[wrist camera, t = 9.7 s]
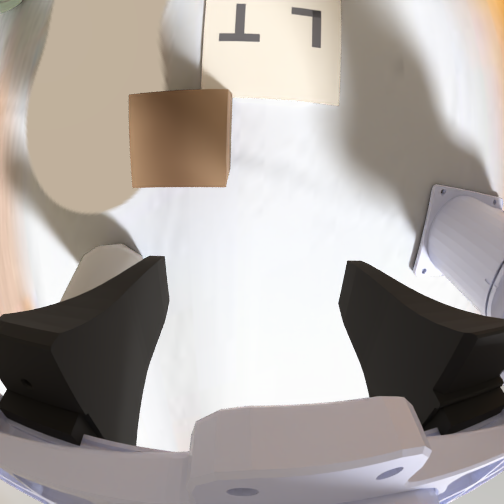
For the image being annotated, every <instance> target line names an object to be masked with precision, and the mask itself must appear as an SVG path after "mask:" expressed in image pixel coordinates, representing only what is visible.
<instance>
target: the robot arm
mask: <svg viewBox="0 0 504 504" xmlns="http://www.w3.org/2000/svg"><path fill="white" fill-rule="evenodd" d="M442 189H443V193H442V194H441V190H442ZM493 201H494V202H493ZM502 207H503V199H502V198H500V197H496V196H492V195H487V194H483V193H478V192H474V191H469V190H464V189H459V188H454V187H449V186H444V185H438V184H436V185H434V186H433V187H432V191H431V197H430V202H429V207H428V212H427V217H426V221H425V226H424V230H423V234H422V238H421V242H420V246H419V250H418V254H417V258H416V261H415V265H414V268H413V273H414V274H415V275H416V276H445V277H446V278H447V279H448V280H449V281H450V282H451V283H452V284H453V285H454V286H455V287H456V288H457V289H458V290H459V291H460V292H461V293H462V294H463V295H464V296H465V297H466V298H467V299H468V300H469V301H470V302H471V304H472V305H473V306H474V307H475V308H476V309H477V310H478V311H479V312H480V313H481V314H482V315H479V314H475V313H471V312H467V311H464V310H460V309H457V308H454V307H451V306H448V305H446V304H443V303H440V302H438V301H436V300H433V299H431V298H429V297H427V296H424V295H422V294H420V293H418V292H416V291H414V290H413V289H411V288H409V287H407V286H405V285H403V284H402V283H400V282H398V281H397V280H395V279H393V278H392V277H390V276H388V275H386V274H385V273H383V272H381V271H380V270H378V269H376V268H375V267H373V266H371V265H369V264H367V263H365V262H362V261H347V265H346V270H345V275H344V280H343V284H342V289H341V294H340V298H339V303H338V304H339V308H340V312H341V316H342V320H343V323H344V326H345V328H346V330H347V333H348V335H349V338H350V340H351V342H352V345H353V347H354V349H355V352H356V354H357V357H358V359H359V361H360V364H361V367H362V370H363V373H364V376H365V380H366V384H367V388H368V392H369V397H370V398H363V399H355V400H347V401H338V402H327V403H315V404H300V405H276V406H244V407H236V408H228V409H220V410H218V411H216V412H214V413H212V414H210V415H208V416H206V417H204V418H202V419H200V420H198V421H196V423H195V426H194V429H193V432H192V434H191V443H190V451H188V452H171V451H164V450H157V449H150V448H144V447H138V446H136V440H137V429H138V421H139V413H140V407H141V400H142V394H143V389H144V384H145V379H146V375H147V370H148V367H149V364H150V361H151V358H152V355H153V352H154V350H155V347H156V344H157V341H158V339H159V336H160V333H161V330H162V328H163V325H164V322H165V319H166V314H167V310H168V305H169V292H168V284H167V275H166V265H165V256H149V257H146V258H144V259H143V260H141V261H139V262H138V263H136V264H134V265H133V266H131V267H130V268H128V269H126V270H125V271H123V272H122V273H120V274H118V275H117V276H115V277H113V278H111V279H110V280H108V281H106V282H105V283H103V284H101V285H99V286H97V287H95V288H93V289H91V290H89V291H87V292H85V293H83V294H80V295H78V296H76V297H73V298H70V299H67V300H65V301H62V302H59V303H56V304H53V305H49V306H46V307H42V308H38V309H34V310H29V311H23V312H17V313H10V314H3V315H2V316H1V317H0V379H1V381H2V382H3V384H4V386H5V387H6V389H7V390H6V392H5V394H4V396H2V395H1V394H0V479H1V480H3V481H4V482H6V483H7V484H9V485H11V486H13V487H14V488H16V489H18V490H19V491H21V492H23V493H25V494H27V495H29V496H30V497H32V498H34V499H36V500H38V501H40V502H42V503H44V504H448V503H449V502H452V501H454V500H455V499H457V498H459V497H461V496H463V495H465V494H466V493H468V492H470V491H472V490H474V489H475V488H477V487H479V486H480V485H482V484H484V483H485V482H487V481H488V480H490V479H492V478H493V477H495V476H496V475H498V474H499V473H501V472H502V471H504V392H503V391H502V389H501V388H500V387H501V386H502V385H503V386H504V211H503V210H502ZM423 269H424V270H423ZM422 270H423V271H422Z"/></svg>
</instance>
